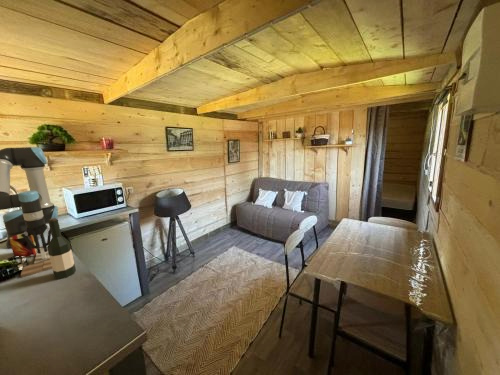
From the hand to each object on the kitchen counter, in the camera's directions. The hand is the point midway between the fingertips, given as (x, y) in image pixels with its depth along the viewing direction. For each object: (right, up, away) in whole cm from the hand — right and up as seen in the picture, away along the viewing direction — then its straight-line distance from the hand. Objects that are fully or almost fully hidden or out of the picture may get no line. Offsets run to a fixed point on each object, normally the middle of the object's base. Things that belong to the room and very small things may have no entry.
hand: (44, 257), depth 121 cm
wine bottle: (+24, -4, -13) cm, 28 cm away
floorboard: (+6, -3, -6) cm, 9 cm away
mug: (-18, -1, +9) cm, 20 cm away
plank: (-4, -1, +5) cm, 7 cm away
